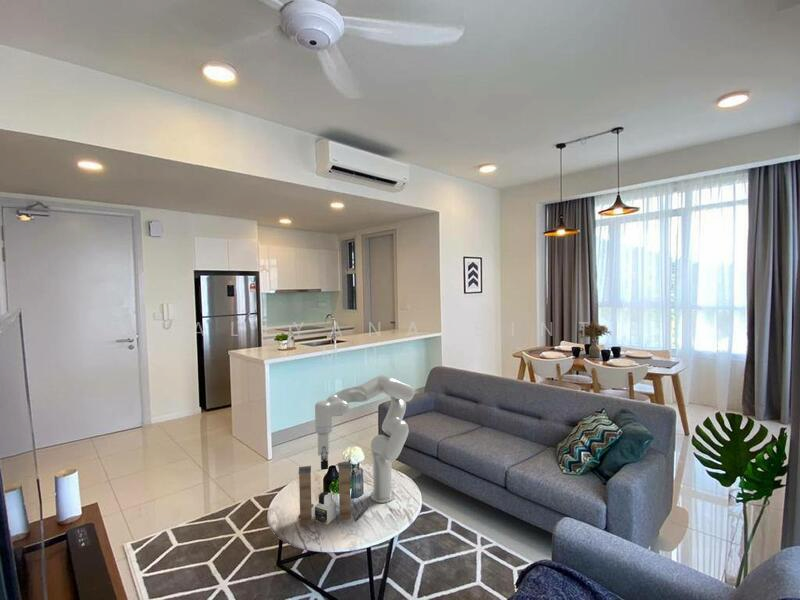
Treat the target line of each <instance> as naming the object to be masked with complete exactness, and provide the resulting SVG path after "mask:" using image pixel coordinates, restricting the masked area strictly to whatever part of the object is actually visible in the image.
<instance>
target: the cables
mask: <svg viewBox="0 0 800 600" xmlns="http://www.w3.org/2000/svg"><path fill="white" fill-rule="evenodd" d="M311 506H312V508H314V507H315V505H314V504H313V503H311ZM367 509H368V506H367V505H365V507H364V508H362V510H361V511H360V512H359V513H358V515H357V516H356V517H355V521H358V520H359V519H360V518H361V517H362V515H363V514H364V513H365V512H366V510H367ZM298 518H299V519H300V514H299V516H298Z"/></svg>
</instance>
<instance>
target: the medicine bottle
mask: <svg viewBox="0 0 800 600" xmlns="http://www.w3.org/2000/svg"><path fill="white" fill-rule="evenodd" d="M336 517H337V502H336V501H334V500H333V493H331V492H330V491H323V492H320V493H319V494H318V503H317V504H316V505H314V519H315V520H314V521H315V522H318V523H321V524H324V525H327V526H328V524H330V523H331V522H332V521H333V520H335V519H336Z"/></svg>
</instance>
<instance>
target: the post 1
mask: <svg viewBox="0 0 800 600" xmlns="http://www.w3.org/2000/svg"><path fill="white" fill-rule="evenodd" d="M311 471H312V466H311V465H306V466H304V465H303V466H299V467H298V481H299V485H298V487H299V491H298V492H299V515H300V518H299V522H300V526H307V525H312V523H313V522H312V521H313V516H312V515H313V513H312V512H313V510H312V508H313V507H312V506H311V505H312V480H311V479H312V474H311V473H312V472H311Z"/></svg>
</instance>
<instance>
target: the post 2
mask: <svg viewBox="0 0 800 600" xmlns="http://www.w3.org/2000/svg"><path fill="white" fill-rule="evenodd" d="M337 466H338V467H337V469H338V497H339V498H338V500H339V501H338V503H339V505H338V507H339V508H338V509H339V520H340V521H343V520H344V521H345V520H351V519H352V516H351V514H352V512H351V511H352V508H351V507H352V506H351V471H350V470H351V464H350V461H344V462H343V461H342V462H338V463H337Z"/></svg>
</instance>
